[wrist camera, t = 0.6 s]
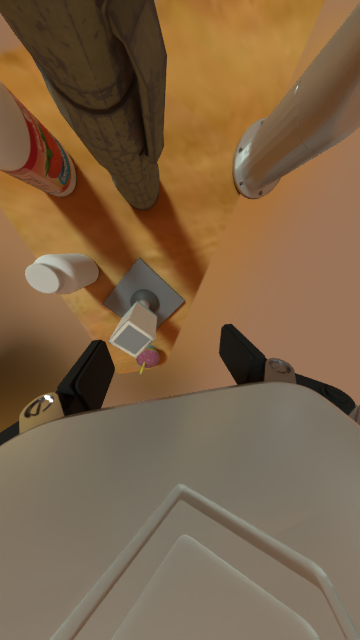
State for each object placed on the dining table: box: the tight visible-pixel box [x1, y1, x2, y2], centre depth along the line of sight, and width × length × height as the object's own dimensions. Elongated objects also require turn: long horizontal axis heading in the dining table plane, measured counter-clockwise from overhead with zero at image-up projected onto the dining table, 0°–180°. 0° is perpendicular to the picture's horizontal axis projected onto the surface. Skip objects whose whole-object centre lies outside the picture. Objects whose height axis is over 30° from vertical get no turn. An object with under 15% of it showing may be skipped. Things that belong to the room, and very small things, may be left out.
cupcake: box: [136, 346, 160, 374], centre depth 48 cm, size 9×8×12 cm
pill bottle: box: [25, 254, 99, 294], centre depth 31 cm, size 8×8×15 cm
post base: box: [103, 258, 184, 328], centre depth 38 cm, size 18×18×12 cm
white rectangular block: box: [108, 300, 157, 358], centre depth 29 cm, size 6×6×10 cm
